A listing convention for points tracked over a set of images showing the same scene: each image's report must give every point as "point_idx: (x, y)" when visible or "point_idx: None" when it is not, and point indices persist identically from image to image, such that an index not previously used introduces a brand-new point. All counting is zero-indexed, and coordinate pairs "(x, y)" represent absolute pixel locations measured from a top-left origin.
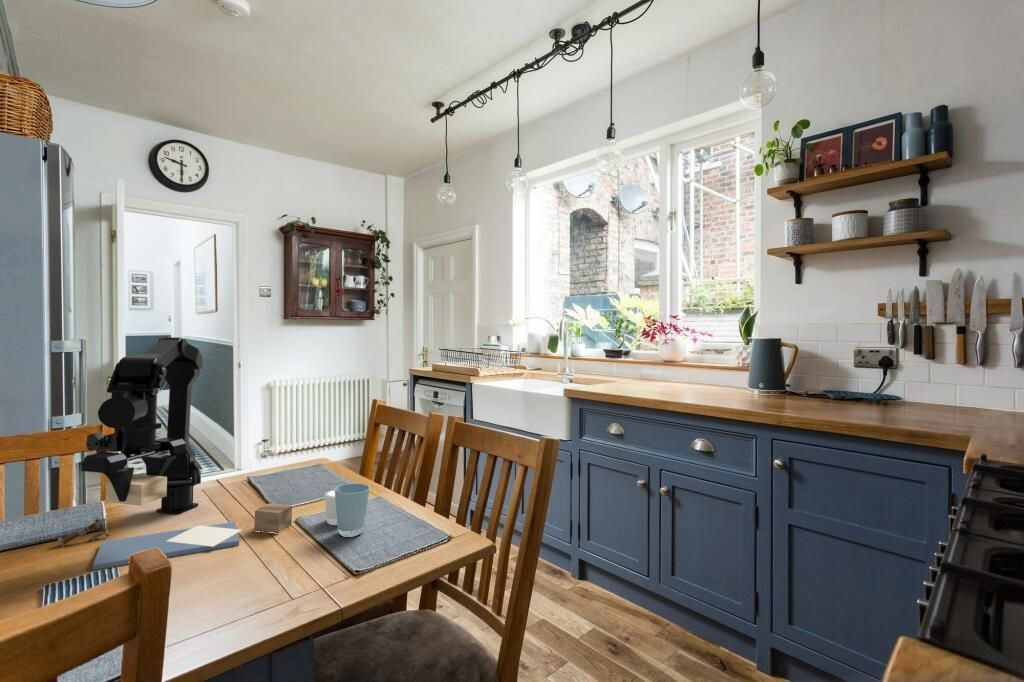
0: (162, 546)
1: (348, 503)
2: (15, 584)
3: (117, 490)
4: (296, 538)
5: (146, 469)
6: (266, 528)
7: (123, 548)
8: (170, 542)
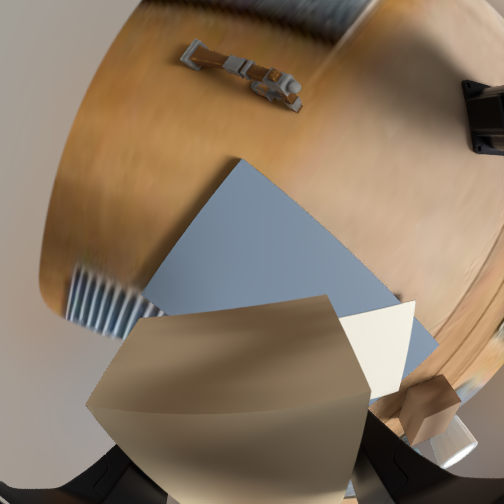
0: None
1: None
2: (53, 213)
3: None
4: None
5: (379, 483)
6: (406, 409)
7: (232, 269)
8: None
